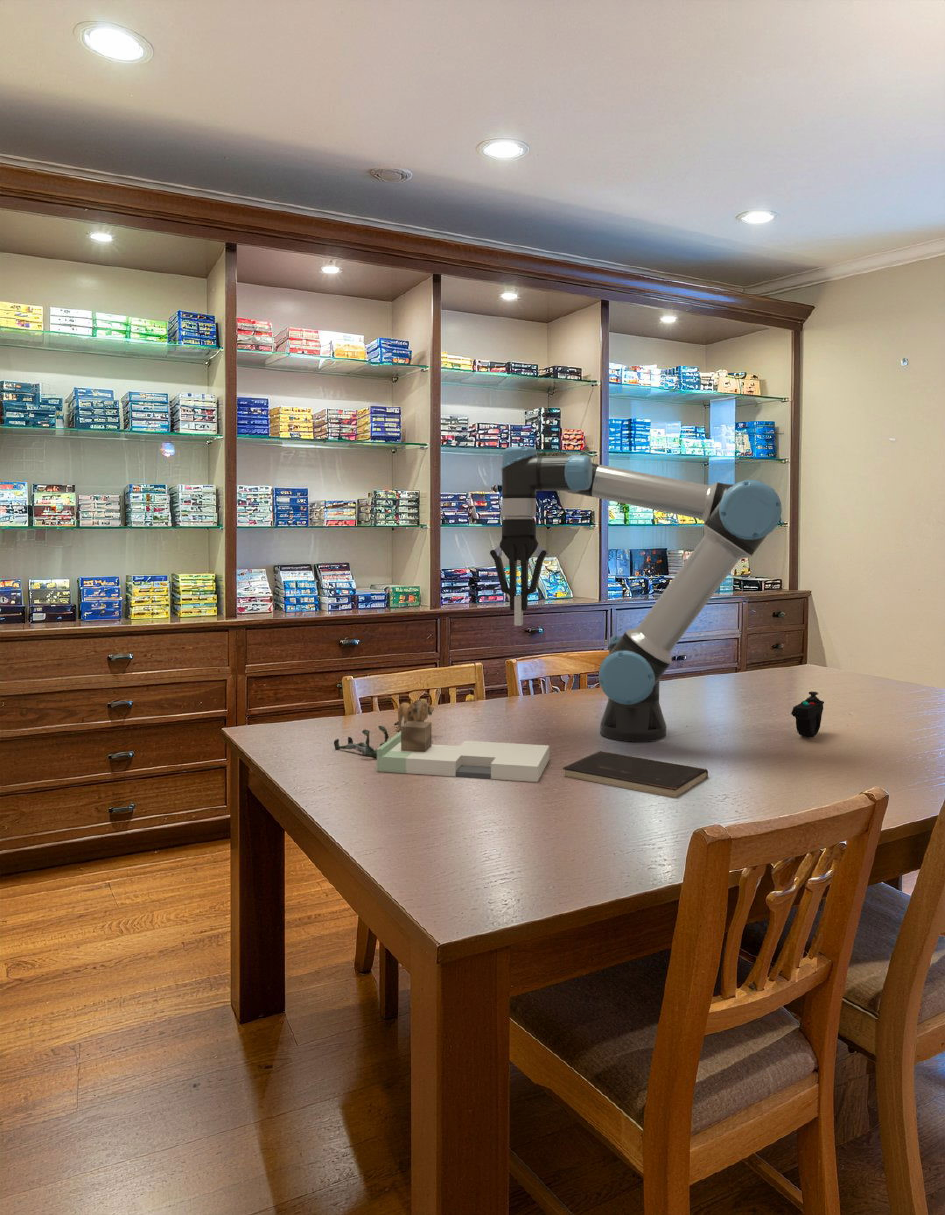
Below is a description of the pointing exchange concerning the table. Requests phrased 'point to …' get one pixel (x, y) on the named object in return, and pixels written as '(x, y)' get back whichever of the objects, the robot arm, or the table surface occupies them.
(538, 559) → the robot arm
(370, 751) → the zombie figurine
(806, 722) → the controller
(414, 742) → the walnut block
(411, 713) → the lion figurine
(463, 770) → the trap board
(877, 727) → the table surface
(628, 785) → the hardcover book
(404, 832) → the table surface
